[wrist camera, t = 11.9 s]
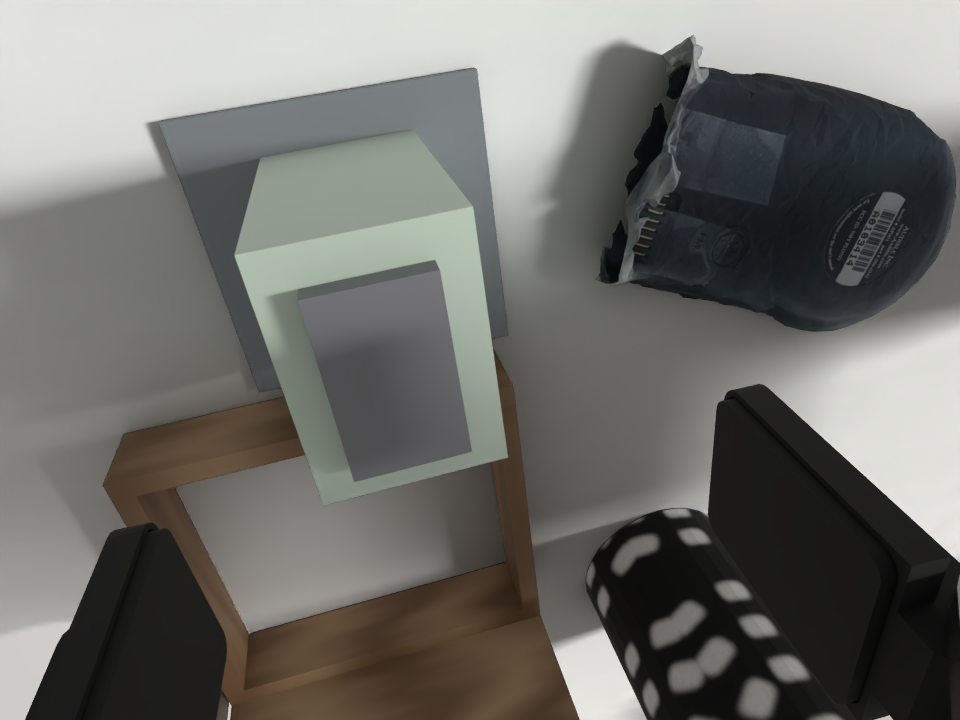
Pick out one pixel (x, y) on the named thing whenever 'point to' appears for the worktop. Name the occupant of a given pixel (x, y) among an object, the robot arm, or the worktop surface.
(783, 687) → the white-spotted black cylinder
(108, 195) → the worktop surface
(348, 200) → the module
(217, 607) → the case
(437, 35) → the worktop surface
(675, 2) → the worktop surface
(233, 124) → the mat
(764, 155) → the dark blue pouch
